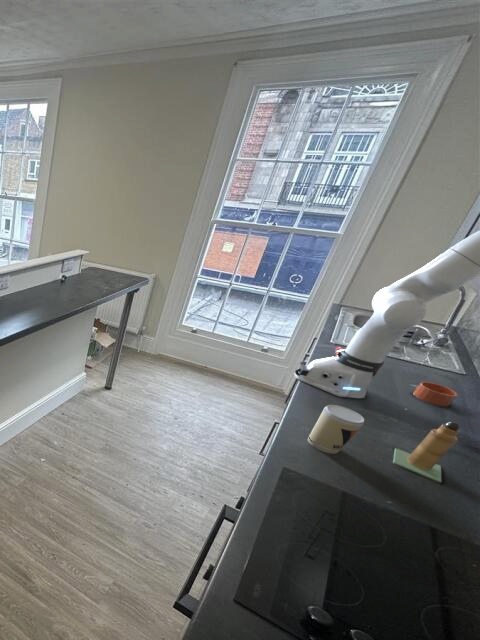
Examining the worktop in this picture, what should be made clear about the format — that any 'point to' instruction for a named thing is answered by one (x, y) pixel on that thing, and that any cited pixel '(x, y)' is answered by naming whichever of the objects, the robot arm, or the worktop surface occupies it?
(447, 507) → the worktop surface
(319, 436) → the coffee cup
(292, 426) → the worktop surface
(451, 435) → the pepper mill
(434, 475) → the plate
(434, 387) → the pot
